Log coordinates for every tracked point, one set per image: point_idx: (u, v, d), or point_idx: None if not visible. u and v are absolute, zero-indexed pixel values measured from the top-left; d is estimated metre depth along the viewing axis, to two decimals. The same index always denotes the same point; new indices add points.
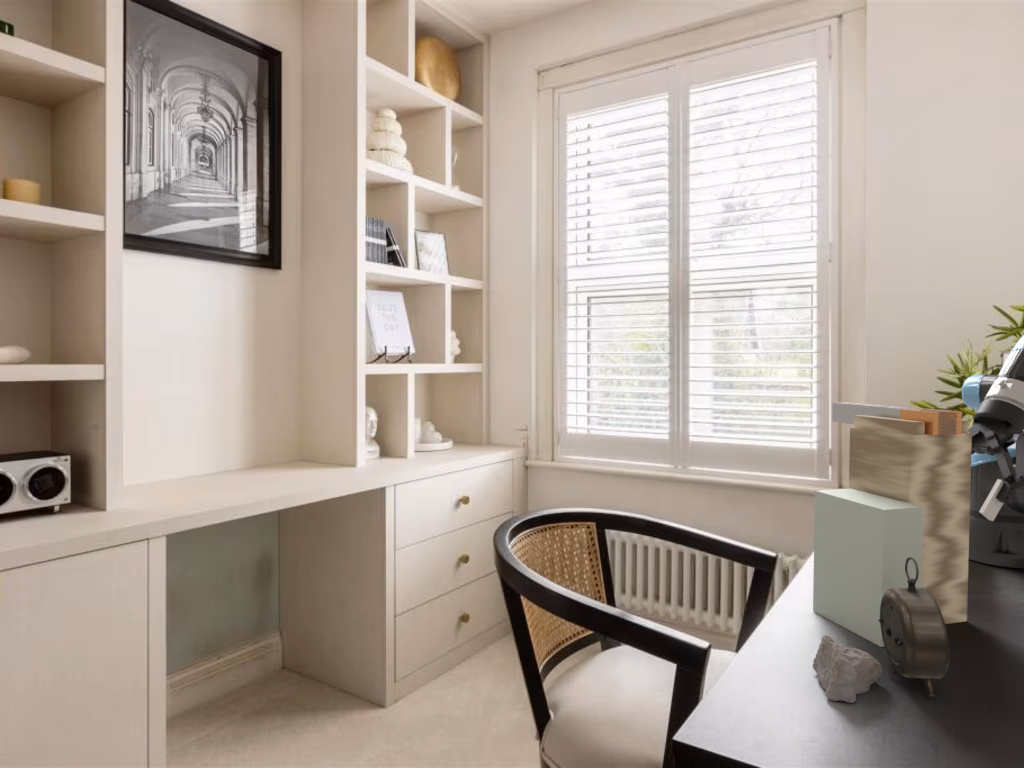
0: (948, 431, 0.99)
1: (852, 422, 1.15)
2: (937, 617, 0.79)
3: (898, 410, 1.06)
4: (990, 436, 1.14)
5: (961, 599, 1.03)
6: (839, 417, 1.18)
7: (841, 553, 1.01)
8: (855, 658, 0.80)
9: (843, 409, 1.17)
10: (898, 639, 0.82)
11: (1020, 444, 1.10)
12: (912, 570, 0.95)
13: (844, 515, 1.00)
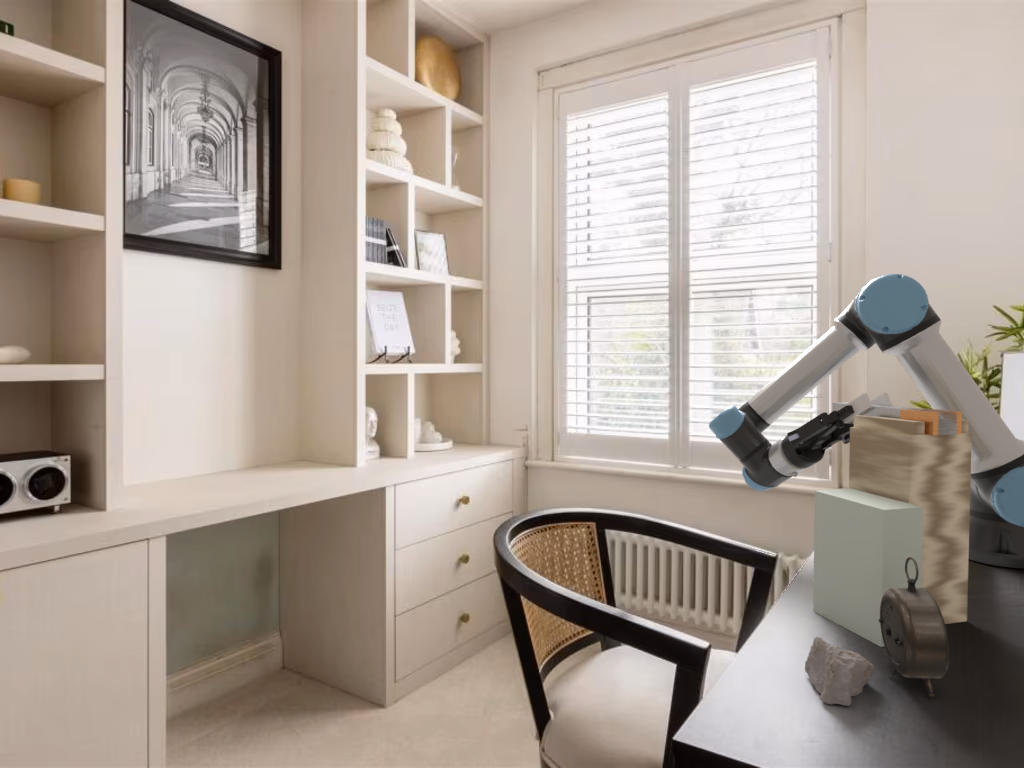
0: (948, 431, 0.99)
1: (852, 422, 1.15)
2: (937, 617, 0.79)
3: (898, 410, 1.06)
4: (816, 446, 1.25)
5: (961, 599, 1.03)
6: None
7: (841, 553, 1.01)
8: (849, 660, 0.79)
9: None
10: (898, 639, 0.82)
11: (803, 440, 1.22)
12: (912, 570, 0.95)
13: (844, 515, 1.00)
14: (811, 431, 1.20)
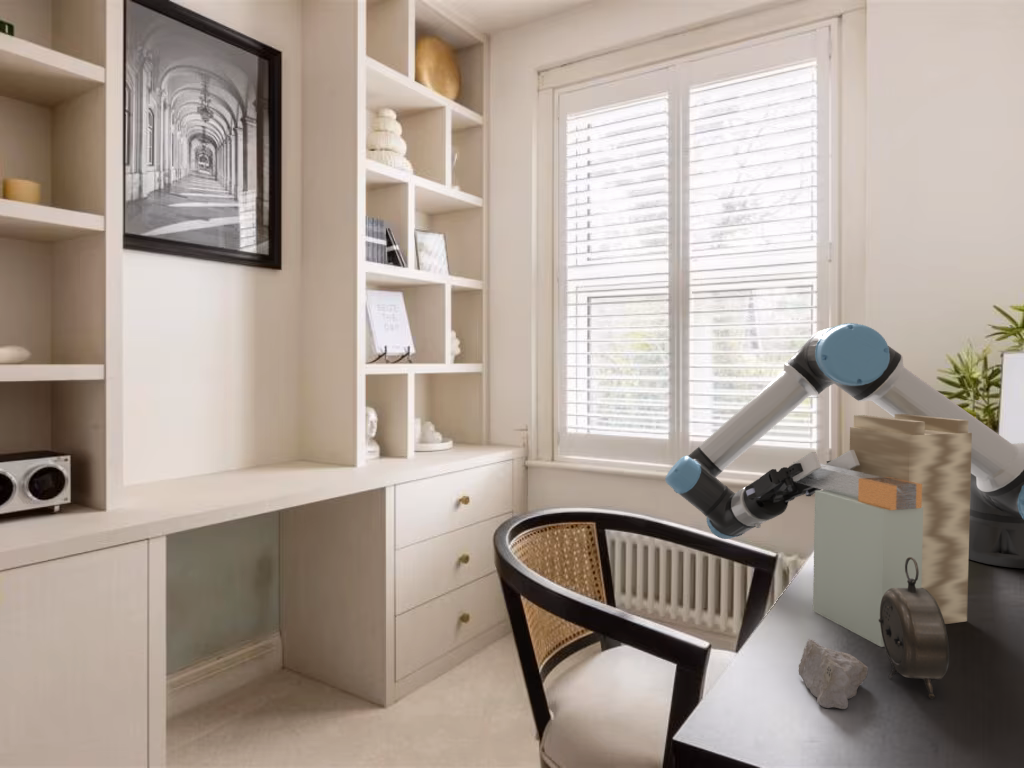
0: (907, 505, 0.94)
1: (812, 485, 1.10)
2: (937, 617, 0.79)
3: (857, 478, 1.00)
4: (777, 500, 1.19)
5: (961, 599, 1.03)
6: None
7: (841, 553, 1.01)
8: (845, 663, 0.78)
9: None
10: (898, 639, 0.82)
11: (759, 495, 1.17)
12: (912, 570, 0.95)
13: (844, 515, 1.00)
14: (763, 488, 1.14)
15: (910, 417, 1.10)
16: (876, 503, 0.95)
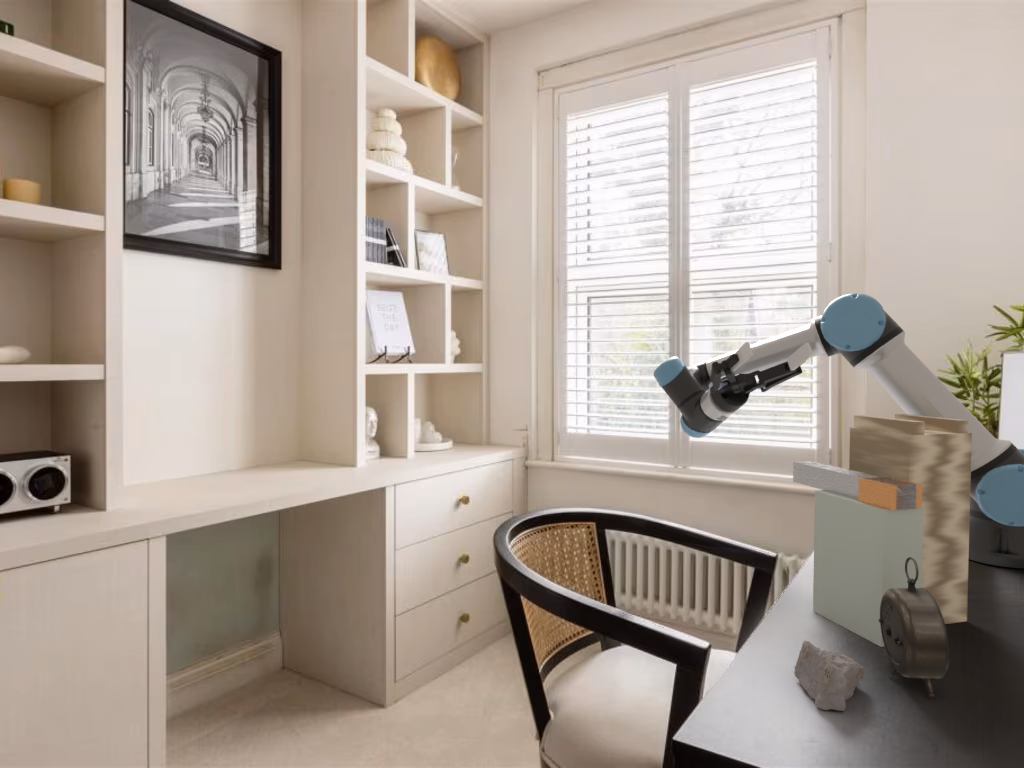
0: (907, 505, 0.94)
1: (812, 485, 1.10)
2: (937, 617, 0.79)
3: (857, 478, 1.00)
4: (737, 390, 1.37)
5: (961, 599, 1.03)
6: (800, 478, 1.13)
7: (841, 553, 1.01)
8: (843, 664, 0.78)
9: (804, 470, 1.12)
10: (898, 639, 0.82)
11: (716, 387, 1.36)
12: (912, 570, 0.95)
13: (844, 515, 1.00)
14: (714, 379, 1.33)
15: (910, 417, 1.10)
16: (876, 503, 0.95)
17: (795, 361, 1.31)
